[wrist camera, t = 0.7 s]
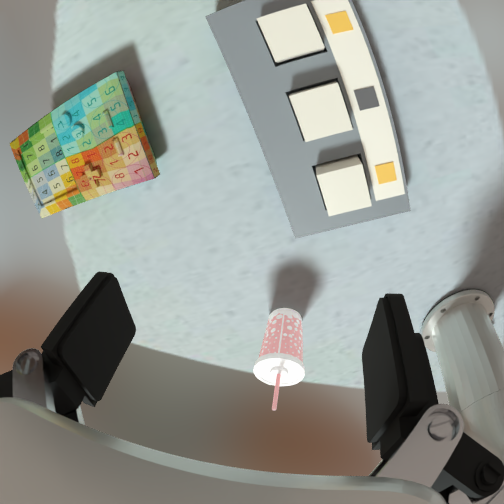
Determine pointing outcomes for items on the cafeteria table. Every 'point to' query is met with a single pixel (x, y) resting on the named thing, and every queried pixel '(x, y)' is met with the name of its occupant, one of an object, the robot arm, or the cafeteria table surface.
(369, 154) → the button board
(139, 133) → the puzzle game
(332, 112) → the button middle
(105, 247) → the cafeteria table surface
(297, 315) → the beverage cup
